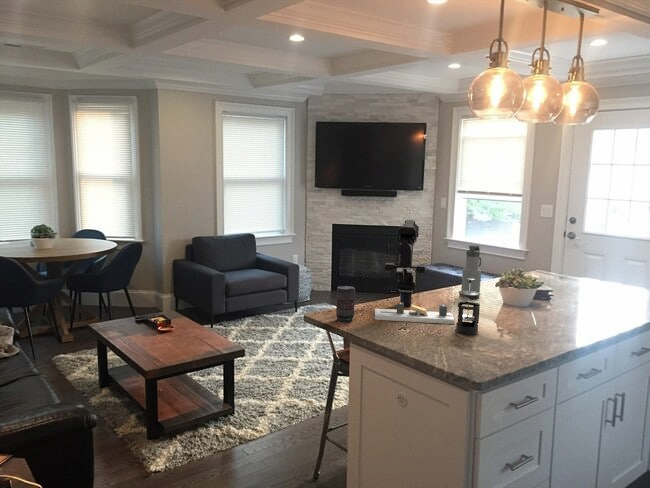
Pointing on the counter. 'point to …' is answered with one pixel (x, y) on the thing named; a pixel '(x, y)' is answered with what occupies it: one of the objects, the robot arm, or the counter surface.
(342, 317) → the camera lens
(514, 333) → the counter surface
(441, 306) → the slider
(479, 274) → the water bottle
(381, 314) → the panel
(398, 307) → the slider
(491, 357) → the counter surface
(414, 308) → the tan block
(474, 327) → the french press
